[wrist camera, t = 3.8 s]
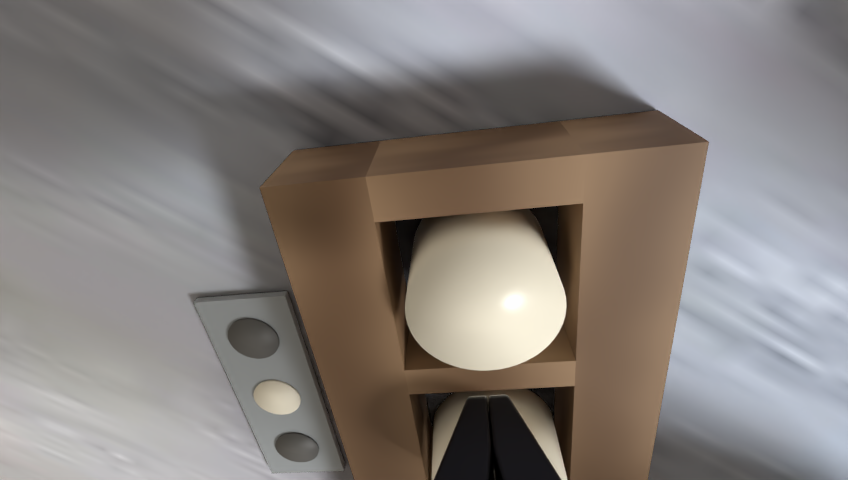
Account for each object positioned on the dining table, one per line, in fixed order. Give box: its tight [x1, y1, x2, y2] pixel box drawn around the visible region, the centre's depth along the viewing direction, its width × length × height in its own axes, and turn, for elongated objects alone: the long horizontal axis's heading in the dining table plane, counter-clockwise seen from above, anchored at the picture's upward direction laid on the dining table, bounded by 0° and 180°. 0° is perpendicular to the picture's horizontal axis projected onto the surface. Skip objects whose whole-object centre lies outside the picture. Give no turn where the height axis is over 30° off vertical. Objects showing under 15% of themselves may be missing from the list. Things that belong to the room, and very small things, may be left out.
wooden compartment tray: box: [260, 110, 709, 480], centre depth 18 cm, size 11×21×3 cm, turn 7°
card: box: [194, 291, 345, 473], centre depth 20 cm, size 4×10×1 cm, turn 7°
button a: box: [405, 208, 567, 371], centre depth 14 cm, size 4×4×3 cm
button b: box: [432, 389, 567, 480], centre depth 16 cm, size 4×4×3 cm
